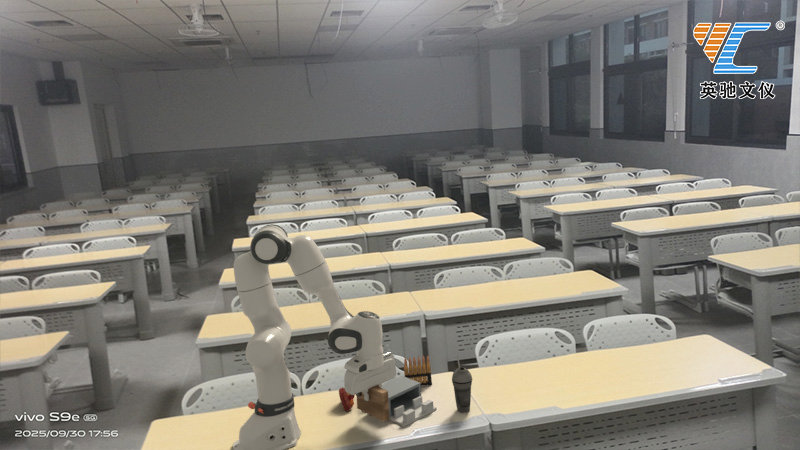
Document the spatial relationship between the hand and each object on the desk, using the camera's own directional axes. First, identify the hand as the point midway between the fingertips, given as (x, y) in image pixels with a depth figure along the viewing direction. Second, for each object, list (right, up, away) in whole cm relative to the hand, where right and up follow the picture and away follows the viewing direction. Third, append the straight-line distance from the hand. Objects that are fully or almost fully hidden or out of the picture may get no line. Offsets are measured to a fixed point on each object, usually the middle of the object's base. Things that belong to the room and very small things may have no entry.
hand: (372, 398), depth 201 cm
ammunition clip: (+17, -5, +32) cm, 36 cm away
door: (0, -6, +1) cm, 6 cm away
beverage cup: (+32, -7, +9) cm, 34 cm away
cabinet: (+11, -8, +12) cm, 18 cm away
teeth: (-5, -8, +19) cm, 22 cm away
